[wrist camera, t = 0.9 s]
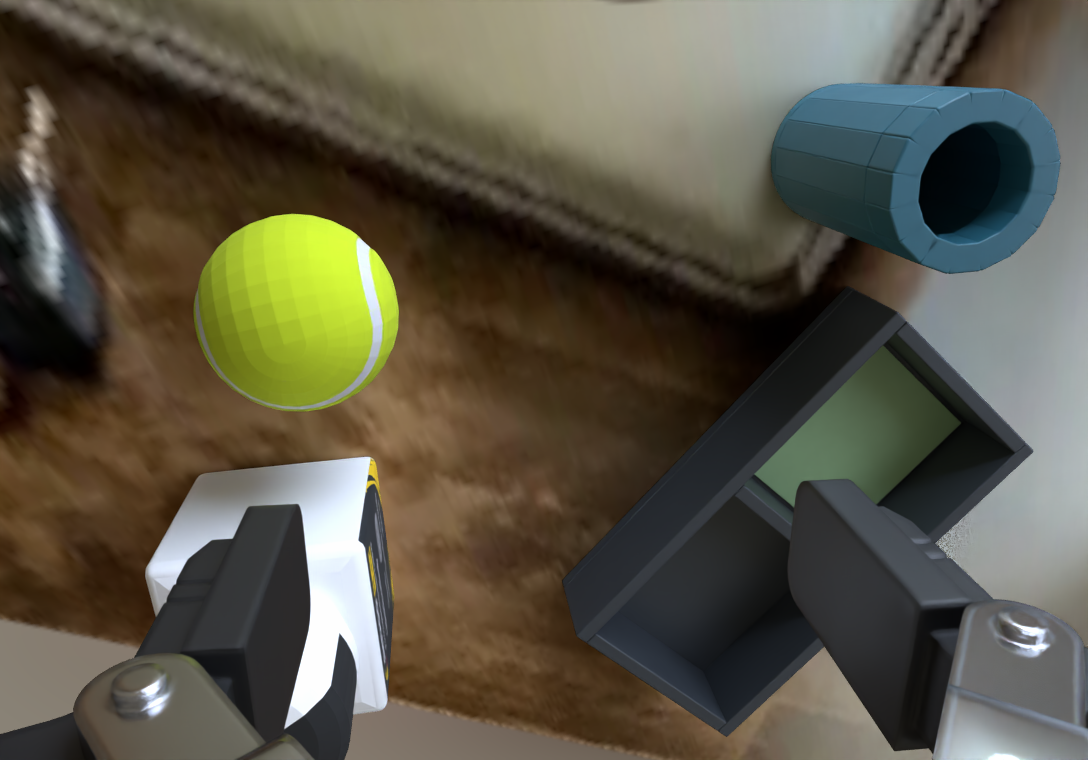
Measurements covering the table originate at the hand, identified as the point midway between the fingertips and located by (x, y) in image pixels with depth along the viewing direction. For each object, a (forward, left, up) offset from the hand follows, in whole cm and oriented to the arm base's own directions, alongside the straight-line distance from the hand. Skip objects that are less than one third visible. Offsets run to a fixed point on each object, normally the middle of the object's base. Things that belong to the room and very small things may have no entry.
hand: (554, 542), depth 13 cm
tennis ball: (-4, -5, -20) cm, 21 cm away
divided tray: (+17, 0, -20) cm, 26 cm away
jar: (+8, +12, -20) cm, 25 cm away
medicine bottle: (+2, -14, -20) cm, 25 cm away
